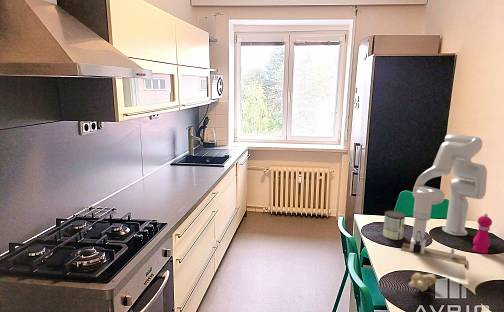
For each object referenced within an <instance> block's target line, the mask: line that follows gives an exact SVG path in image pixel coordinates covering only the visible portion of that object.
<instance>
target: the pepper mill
mask: <svg viewBox="0 0 504 312" xmlns="http://www.w3.org/2000/svg"><path fill="white" fill-rule="evenodd" d="M488 216H489V214H488V213H484V214H483V215H482V216H479V217H478V218H477V223H478V225H477V229H478V231H477V234H475V236H474V238H472V240H473V241H472V244H473V246H472V250H473V252H475V253H478V254H481V255H484V254H485V255H486V254H488V252H489V249H488V248H489V247H490V246H491V242H490V239H489V234H488V233H489V231H490V230H491V229H490V228H491V226H492V225H493V220H492V219H491V217H488Z"/></svg>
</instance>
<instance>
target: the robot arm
mask: <svg viewBox="0 0 504 312" xmlns="http://www.w3.org/2000/svg"><path fill="white" fill-rule="evenodd" d="M482 148H483V140H482V138H480V137H479V136H471V135H465V134H454V133H453V134H447V135H445V137H444V142H442V143H441V145H440V146H439V149H438V152H437V154H436V156H435V158H434V161H433V164H432V166H431V167H429V168H427V169H426V170H425V171H424V172H422V173H421V174H420V175H419V176H418V177H417V179H416V181H415V184H414V186H413V188H412V189H413V190H412V197H413V198H414V204H413V213H412V217H413V219H414V221H413V226H412V227H413V230H412V236H411V238H415V244H414V249H413V251H414V252H418V253H420V252H421V240H423V239H425V238H424V237H425V234H426V229H427V222H428V221H430V220H431V213H432V205H439V204H441V203H443V202H444V200H445V198H446V195H445V192H444V191H443V190H441V189H439V188H434V187H431V186H427V185H425V184H426V182H428V181H429V180H431V179H434V178H437V177H442V176H447V175H449V174H450V173H451V171H452V174H453V176H454V177H455V178H453V179H451V180H450V182H449V187H448V188H449V200H448V206H447V207H448V208H447V215H446V222H445V225H444V226H442V227H441V228H442V229H441V230H442V231H443V232H444V233H446V234H449V235H452V236H457V237H458V236H460V237H464V236H467V235H468V231H467V230H466V223H467V216H468V215H467V214H468V209H469V201H468V199H467V198H469V199H473V200H474V199H475V200H482V199H484V197H486V193H487V179H488V177H487V176H488V169H487V166H486V165H484V164H482V163H477V162H472V159H473V158H474V157H475V156H476V155H478V154H479V152H480V151H481V150H482ZM416 239H417V240H416ZM419 240H420V241H419Z"/></svg>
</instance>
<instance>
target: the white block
mask: <svg viewBox="0 0 504 312" xmlns="http://www.w3.org/2000/svg"><path fill="white" fill-rule="evenodd" d="M410 239H411V240H410V243H409V244H410V251H413V249H414V244H415V238H412V237H411V238H410ZM416 240H417V239H416ZM419 241H420V240H419ZM426 242H427V239H425V238H423V240H421V252H420V253H422V254H424V250H425V248H426ZM413 252H414V251H413ZM417 253H418V252H417Z"/></svg>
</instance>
